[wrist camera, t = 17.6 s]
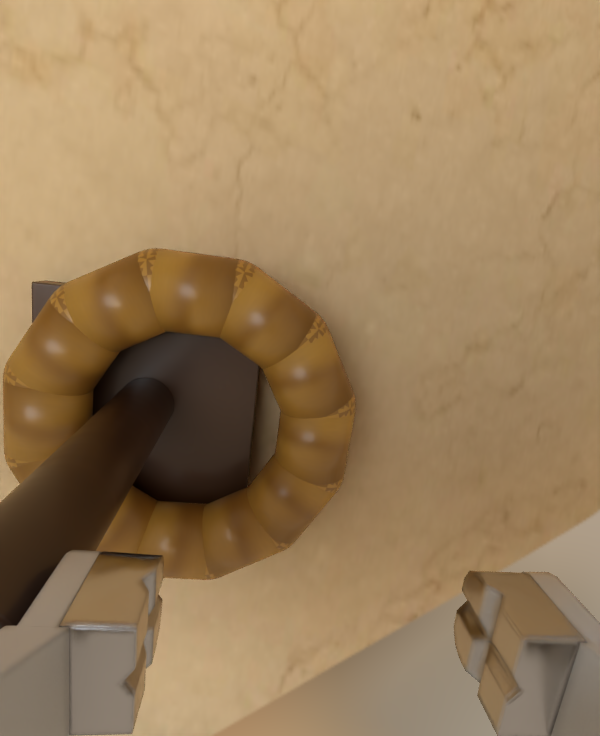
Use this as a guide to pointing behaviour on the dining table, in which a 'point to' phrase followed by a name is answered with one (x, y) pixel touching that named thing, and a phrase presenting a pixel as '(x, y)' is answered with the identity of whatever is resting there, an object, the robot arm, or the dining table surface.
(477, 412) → the dining table surface
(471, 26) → the dining table surface
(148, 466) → the post
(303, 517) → the ring
